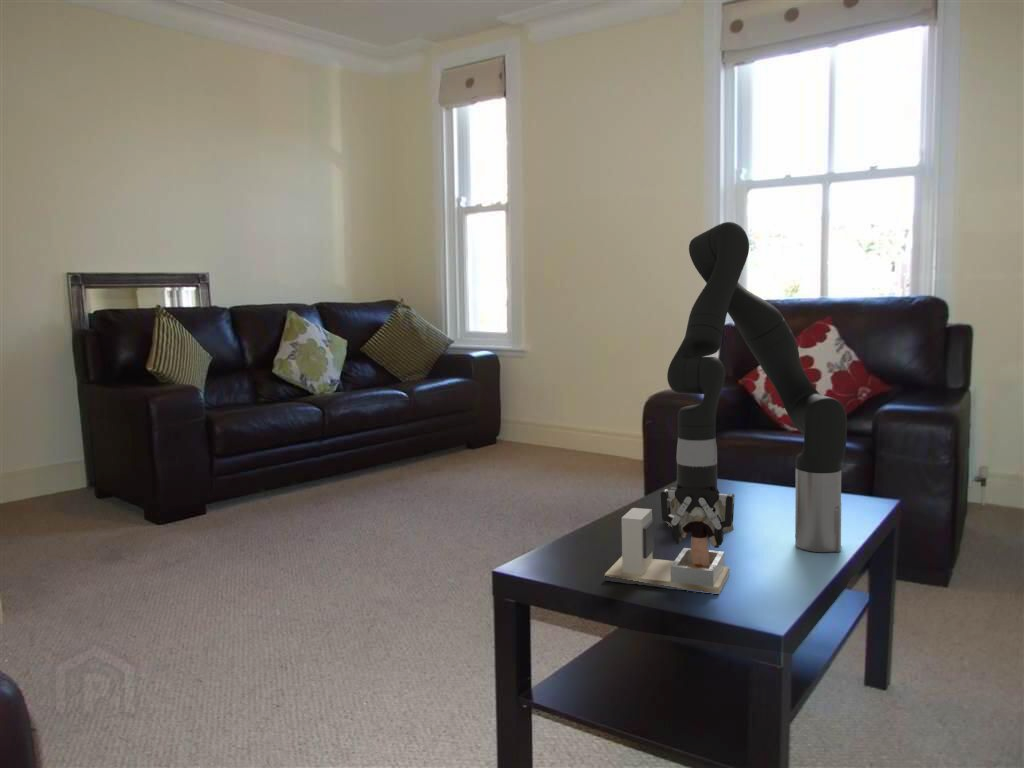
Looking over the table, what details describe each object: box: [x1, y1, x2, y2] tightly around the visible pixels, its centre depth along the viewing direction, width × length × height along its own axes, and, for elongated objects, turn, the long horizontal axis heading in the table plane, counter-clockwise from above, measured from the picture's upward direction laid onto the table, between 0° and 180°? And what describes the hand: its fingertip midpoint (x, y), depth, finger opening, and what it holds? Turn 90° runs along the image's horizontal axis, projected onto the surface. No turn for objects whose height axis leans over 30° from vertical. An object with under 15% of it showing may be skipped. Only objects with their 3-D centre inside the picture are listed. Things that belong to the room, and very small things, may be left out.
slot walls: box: [670, 547, 725, 587], centre depth 153 cm, size 8×12×3 cm, turn 156°
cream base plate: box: [604, 555, 731, 595], centre depth 156 cm, size 22×12×2 cm, turn 66°
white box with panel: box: [621, 507, 655, 575], centre depth 158 cm, size 5×8×11 cm, turn 156°
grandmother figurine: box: [681, 507, 717, 569], centre depth 152 cm, size 8×4×13 cm, turn 56°
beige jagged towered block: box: [665, 481, 735, 534], centre depth 193 cm, size 16×16×15 cm
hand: (697, 544), depth 153 cm, fingers closed on grandmother figurine, 7 cm apart
